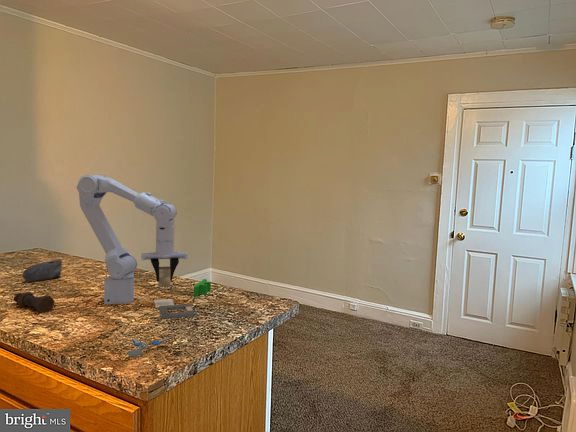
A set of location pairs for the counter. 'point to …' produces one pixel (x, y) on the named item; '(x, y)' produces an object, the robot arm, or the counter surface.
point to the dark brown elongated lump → (35, 301)
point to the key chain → (138, 351)
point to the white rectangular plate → (163, 302)
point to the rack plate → (165, 313)
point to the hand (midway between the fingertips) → (164, 280)
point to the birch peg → (164, 276)
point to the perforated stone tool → (43, 271)
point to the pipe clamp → (202, 287)
